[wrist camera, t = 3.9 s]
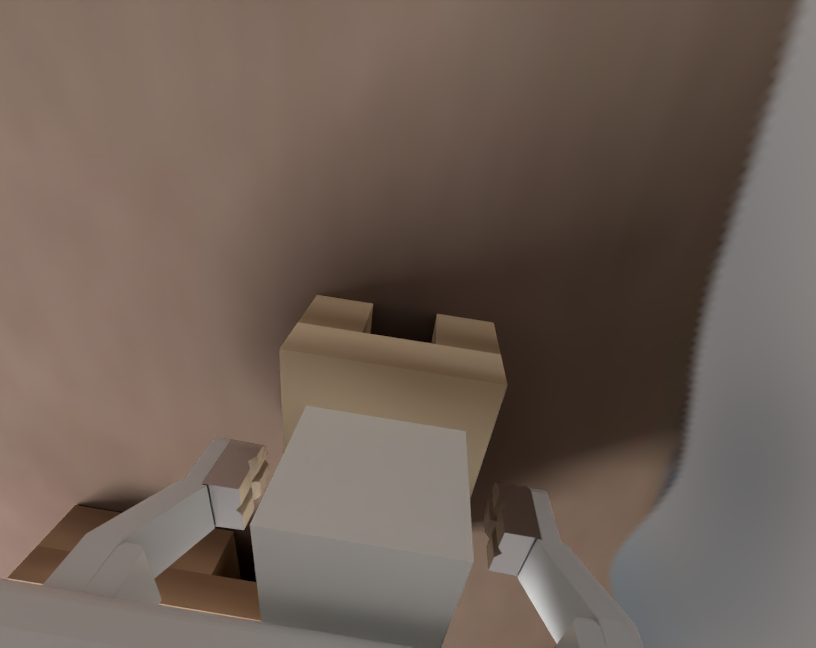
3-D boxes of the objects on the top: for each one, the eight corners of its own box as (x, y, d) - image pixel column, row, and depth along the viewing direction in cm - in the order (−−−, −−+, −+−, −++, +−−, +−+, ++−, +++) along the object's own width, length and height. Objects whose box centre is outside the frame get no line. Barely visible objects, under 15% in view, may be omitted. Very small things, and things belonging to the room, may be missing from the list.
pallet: (318, 291, 11) (279, 348, 8) (493, 319, 11) (507, 385, 8) (315, 510, 16) (289, 589, 13) (434, 530, 16) (432, 613, 13)
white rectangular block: (306, 405, 9) (249, 525, 6) (465, 431, 9) (473, 561, 6) (306, 568, 13) (269, 689, 10) (421, 587, 12) (415, 713, 10)
